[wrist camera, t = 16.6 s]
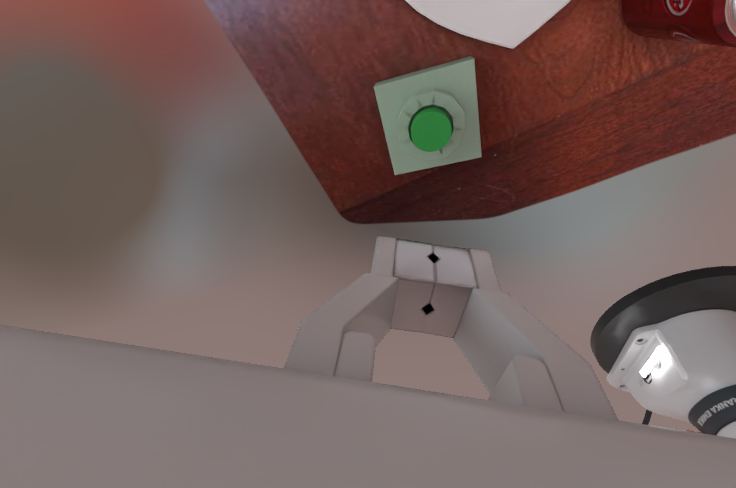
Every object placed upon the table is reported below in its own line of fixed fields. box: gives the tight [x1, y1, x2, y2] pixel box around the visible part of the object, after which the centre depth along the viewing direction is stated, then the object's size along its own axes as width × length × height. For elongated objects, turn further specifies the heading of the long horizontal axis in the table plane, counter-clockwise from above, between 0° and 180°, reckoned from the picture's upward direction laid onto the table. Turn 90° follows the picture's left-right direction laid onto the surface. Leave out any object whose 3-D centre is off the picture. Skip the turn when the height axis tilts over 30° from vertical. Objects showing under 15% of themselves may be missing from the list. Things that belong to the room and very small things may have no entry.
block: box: [374, 56, 482, 175], centre depth 35 cm, size 10×10×4 cm
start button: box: [411, 107, 452, 152], centre depth 33 cm, size 4×4×2 cm
